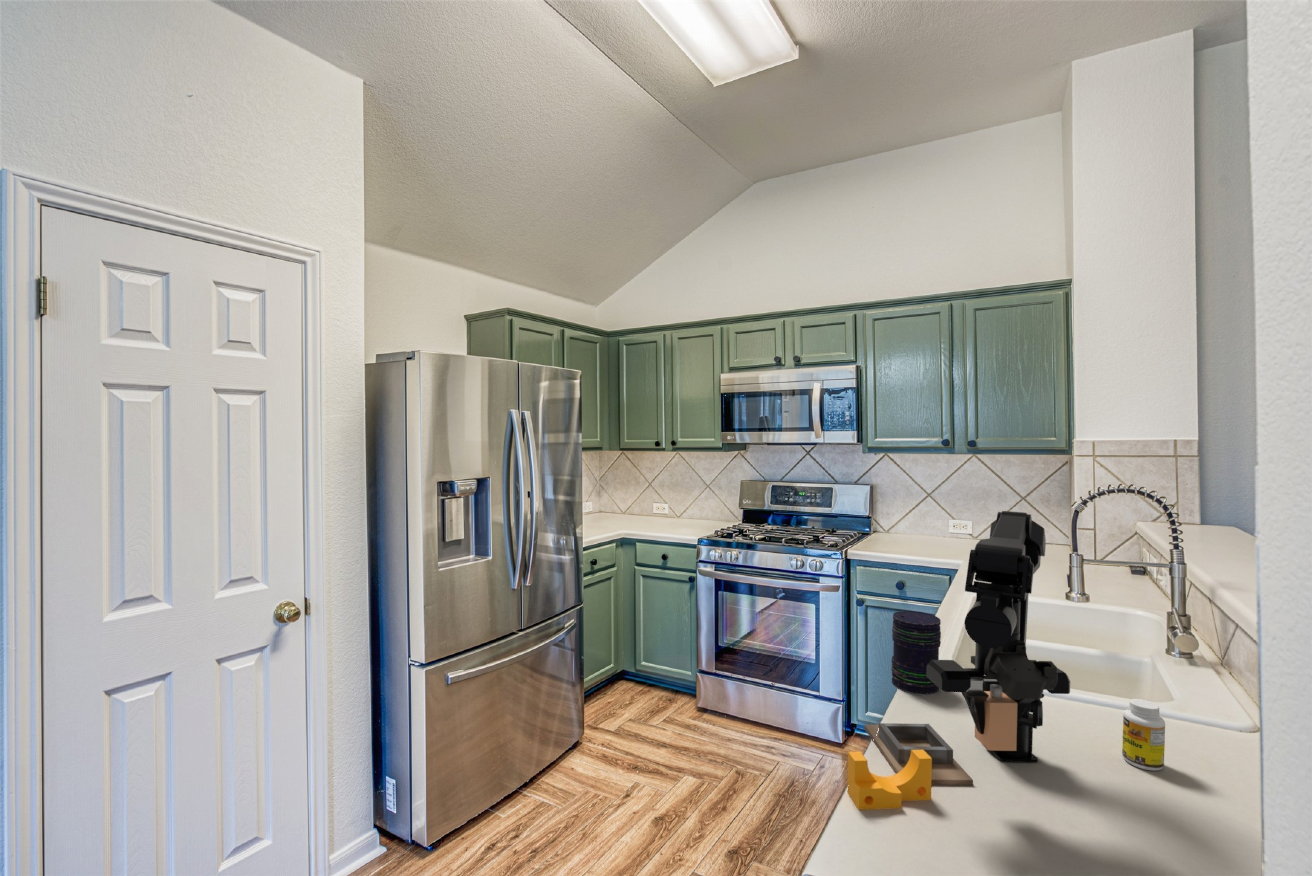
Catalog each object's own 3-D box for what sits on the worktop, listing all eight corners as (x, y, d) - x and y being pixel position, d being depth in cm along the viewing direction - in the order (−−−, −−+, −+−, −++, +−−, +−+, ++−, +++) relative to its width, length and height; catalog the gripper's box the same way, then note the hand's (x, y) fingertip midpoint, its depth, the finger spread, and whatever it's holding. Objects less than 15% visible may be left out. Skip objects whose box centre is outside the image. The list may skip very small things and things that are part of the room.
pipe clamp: (858, 810, 91) (859, 767, 90) (847, 793, 95) (848, 751, 95) (937, 807, 92) (938, 764, 91) (922, 790, 96) (923, 749, 96)
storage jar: (934, 678, 139) (936, 612, 139) (944, 697, 130) (946, 626, 129) (888, 674, 142) (889, 609, 141) (894, 691, 132) (895, 622, 132)
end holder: (922, 729, 115) (923, 712, 115) (972, 784, 97) (973, 764, 97) (864, 728, 115) (864, 711, 115) (903, 784, 97) (903, 764, 97)
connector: (1000, 737, 94) (1002, 681, 94) (1016, 750, 90) (1017, 692, 90) (974, 736, 94) (975, 680, 94) (988, 750, 90) (990, 691, 90)
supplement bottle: (1113, 754, 107) (1115, 696, 107) (1145, 754, 107) (1146, 696, 107) (1140, 772, 102) (1142, 711, 101) (1172, 772, 102) (1174, 711, 102)
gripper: (962, 647, 84) (959, 761, 84) (1099, 649, 84) (1096, 763, 84) (925, 621, 95) (923, 722, 95) (1046, 623, 95) (1044, 724, 95)
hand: (995, 733), depth 92 cm, fingers closed on connector, 4 cm apart
